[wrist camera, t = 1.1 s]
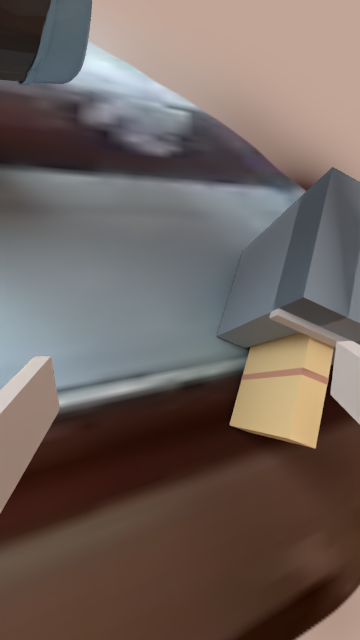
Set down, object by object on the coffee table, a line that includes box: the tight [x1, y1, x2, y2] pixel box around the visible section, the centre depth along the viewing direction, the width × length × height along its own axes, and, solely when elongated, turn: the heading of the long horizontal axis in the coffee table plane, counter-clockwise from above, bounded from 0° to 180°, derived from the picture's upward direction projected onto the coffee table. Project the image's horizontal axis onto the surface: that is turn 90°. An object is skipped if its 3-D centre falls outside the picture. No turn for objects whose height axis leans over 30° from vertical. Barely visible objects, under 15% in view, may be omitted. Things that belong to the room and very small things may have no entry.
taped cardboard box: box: [230, 332, 334, 449], centre depth 32 cm, size 15×3×11 cm, turn 161°
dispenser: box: [217, 167, 360, 365], centre depth 32 cm, size 13×11×16 cm
